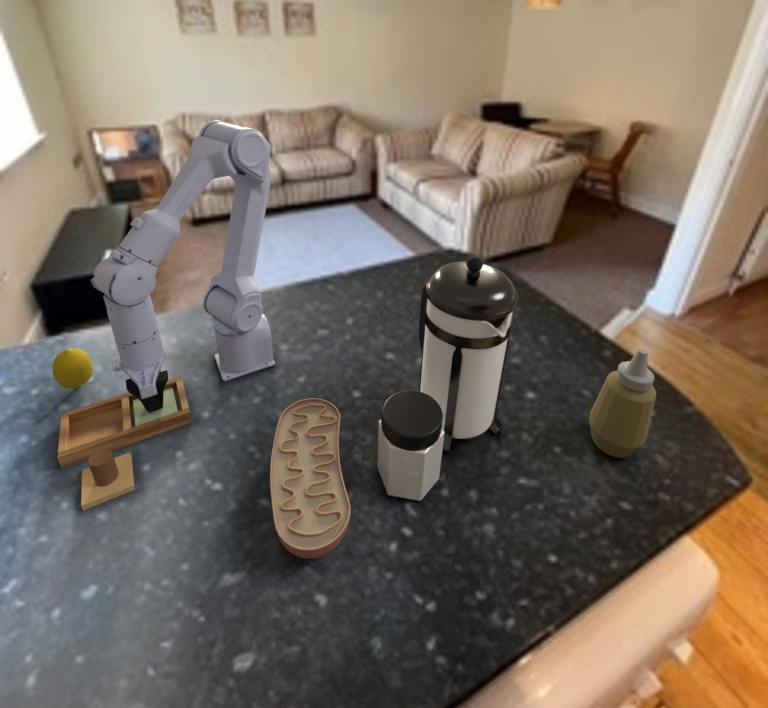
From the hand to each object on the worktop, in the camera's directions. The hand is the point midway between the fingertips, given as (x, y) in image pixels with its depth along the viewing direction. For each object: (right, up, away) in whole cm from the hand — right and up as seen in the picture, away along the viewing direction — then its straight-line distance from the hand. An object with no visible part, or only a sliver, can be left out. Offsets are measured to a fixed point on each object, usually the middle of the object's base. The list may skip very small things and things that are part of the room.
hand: (154, 401), depth 72 cm
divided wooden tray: (-4, -3, -1) cm, 5 cm away
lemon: (-16, 0, +6) cm, 17 cm away
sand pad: (-1, -8, -10) cm, 13 cm away
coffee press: (+48, -3, +3) cm, 48 cm away
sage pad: (0, -2, +1) cm, 2 cm away
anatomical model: (+27, -8, -10) cm, 29 cm away
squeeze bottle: (+73, -6, -2) cm, 73 cm away
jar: (+40, -8, -7) cm, 42 cm away
